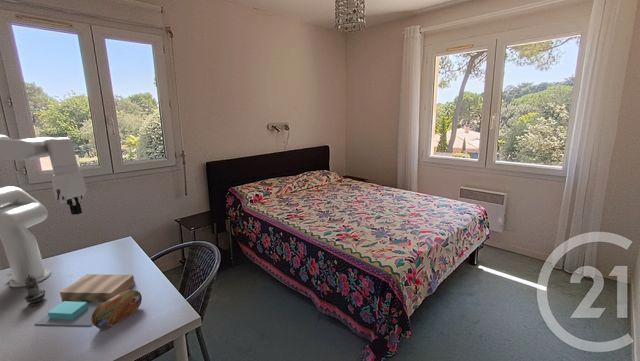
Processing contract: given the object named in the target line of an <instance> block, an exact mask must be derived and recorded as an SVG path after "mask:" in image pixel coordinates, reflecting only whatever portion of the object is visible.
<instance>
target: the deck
mask: <svg viewBox="0 0 640 361" xmlns="http://www.w3.org/2000/svg"><path fill="white" fill-rule="evenodd" d="M134 278H135V277H134V274H103V273H102V274H101V273H99V274H93V273H92V274H85V275H84V276H82V277H81V278H79V279H78V280H76V281H74V282H72V283H71V284H70V285H68V286H67V287H66V288H63V290H61V291H60V292H59V294H60V298H61V303H62V302H64V301H72V302H87V303H104V302H105V301H107V300H109V299H111V298H113V297H114V296H116V295H118V294H120V293H121V292H123V291H125V290H130V288H132V287H133V286H134V285H135V284H136V282H135V279H134Z"/></svg>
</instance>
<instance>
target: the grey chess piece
mask: <svg viewBox="0 0 640 361" xmlns="http://www.w3.org/2000/svg"><path fill="white" fill-rule="evenodd" d="M25 283H26V286H24V287H25V289H26V290H27V294H26V295H25V296H24V297H23V300H25V301H26V303H28V304H27V308H30V309H32V308H36V307H40V306H41V305H43V304H45V303H46V302H47V301H48V300H47V298H46V297H45V295H46V290H44V289H40V287H39V284H40V282H37V281H36V278H35V276H30V275H28V277H27V278H26V279H25Z"/></svg>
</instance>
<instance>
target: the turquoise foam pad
mask: <svg viewBox="0 0 640 361" xmlns="http://www.w3.org/2000/svg"><path fill="white" fill-rule="evenodd" d="M87 303H88V302H72V301H64V302H62V301H61V303H59V304H58V305H57V306H55V307H54V308H52V309H51V310H49V311H47V315H48V316H49V319H68V320H74V319H75V318H76V317H77V316H79V315H80V314H81V313H83V312H84V311H85V310H87V309H88V304H87Z"/></svg>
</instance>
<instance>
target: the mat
mask: <svg viewBox="0 0 640 361" xmlns="http://www.w3.org/2000/svg"><path fill="white" fill-rule="evenodd" d="M102 303H103V302H87V304H88V309H87V310H85V311H84V312H83V313H81V314H80V315H79V316H77V317H76V318H75V319H74V320H68V319H49V316H48V314H45V316H43V317H42V318H40V319H39V320H38V321H36V322H35V323H34V326H58V327H59V326H61V327H62V326H63V327H93V326H94V325H93V323H92V314H93V312H94V310H95V309H96V308H97V307H98V306H99V305H100V304H102Z"/></svg>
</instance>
